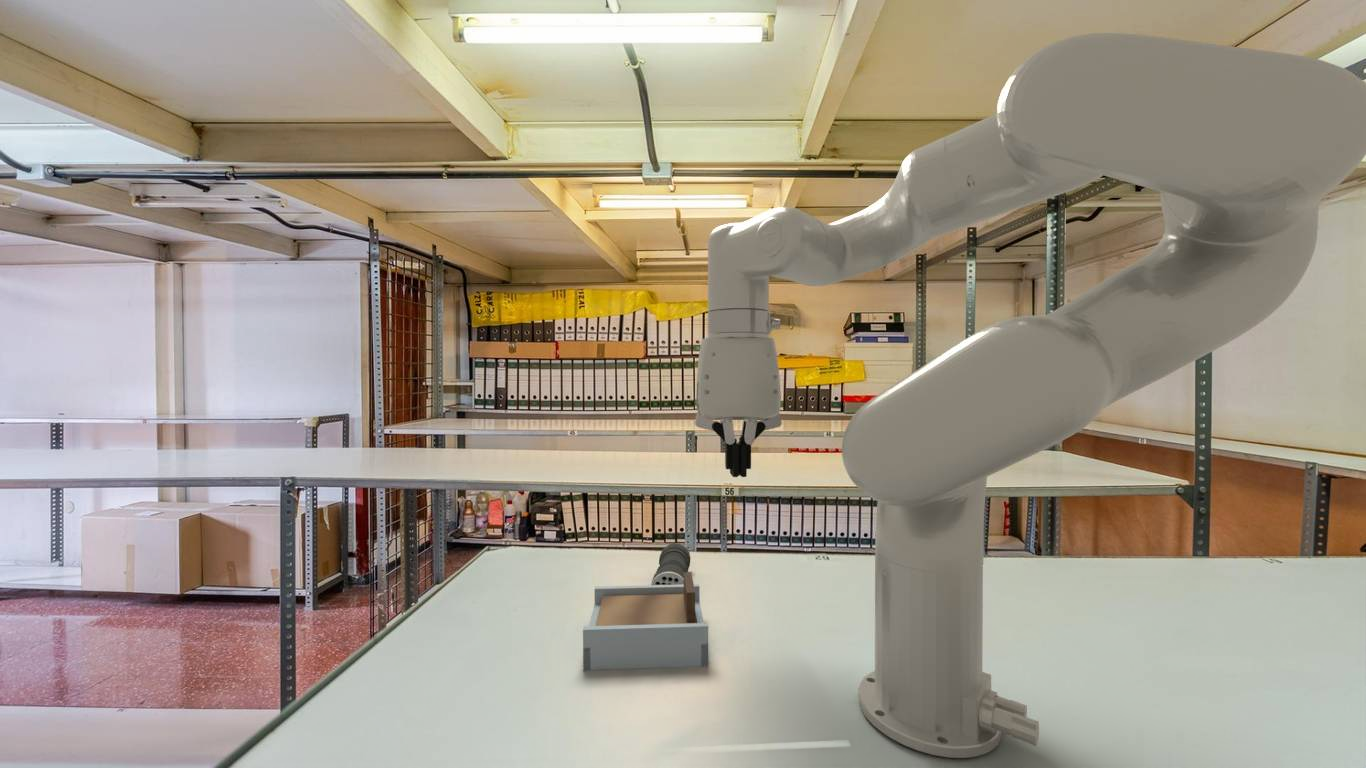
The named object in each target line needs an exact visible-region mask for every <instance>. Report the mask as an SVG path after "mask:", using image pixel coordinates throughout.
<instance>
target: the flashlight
mask: <svg viewBox="0 0 1366 768" xmlns="http://www.w3.org/2000/svg"><path fill="white" fill-rule="evenodd" d="M690 554H691V553H690V552H689V550H688V548H686V547H685V546H684V545H683V544H680V543H676V542H675V543H669V544H668V545H666V546H664V547H663V548H662V550H661V553H660V555H659V559H658V565H659V566H658V567H657V569H656V572H655V573H654V575H653V577H652V579H651V584H650V585H669V584H670V585H678V584H684V572H689V569H690V565H691V555H690ZM670 578H671V579H670ZM676 579H677V580H676Z"/></svg>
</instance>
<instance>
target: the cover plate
mask: <svg viewBox="0 0 1366 768" xmlns="http://www.w3.org/2000/svg"><path fill="white" fill-rule="evenodd" d="M694 584H695V583H694V580H693V574H692V572H691V571H687V572H684V594H661V595H623V596H602V601H601V605H600V609H599V613H598V618H597V622H596V626H617V625H652V624H686V623H697V622H696V617H695V589H694Z"/></svg>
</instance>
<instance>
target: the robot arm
mask: <svg viewBox="0 0 1366 768" xmlns="http://www.w3.org/2000/svg"><path fill="white" fill-rule="evenodd" d="M1365 157H1366V82H1365V81H1364V80H1362V79H1361V78H1360V77H1358V76H1357V75H1356V74H1354V73H1353V72H1352V71H1350V69H1349V70H1348V69H1346V68H1344V67H1341V66H1340V65H1337V64H1333V63H1330V62H1327V61H1325V60H1323V59H1322V60H1321V59H1319V58H1313V57H1309V56H1304V55H1297V54H1292V53H1284V52H1276V51H1269V50H1263V49H1253V48H1247V47H1239V46H1231V45H1223V44H1217V43H1216V44H1215V43H1214V44H1213V43H1208V42H1199V41H1193V40H1186V39H1179V38H1178V39H1177V38H1173V37H1171V38H1170V37H1164V36H1157V35H1156V36H1155V35H1145V34H1137V33H1125V32H1093V33H1085V34H1079V35H1078V34H1077V35H1074V36H1073V35H1072V36H1069V37H1066V38H1063V39H1059V40H1057V41H1055V42H1053V43H1052V42H1051V43H1050V44H1047V45H1046V46H1044V47H1042V48H1040V49H1038V51H1036V52H1034V53H1032V54H1031V55H1030V56H1028V57H1027V58H1026V59H1025V60H1024V61H1023V62H1022V63H1021V64H1019V65H1018V66H1017V67H1016V68H1015V70H1014V71H1013V72H1012V74H1011V75H1010V76H1009V77H1008V79H1007V81H1006V82H1005V84H1004V86H1003V88H1002V90H1001V92H1000V94H999V98H998V100H997V105H996V113H994V114H993V115H990V116H988V117H986V118H983V119H981V120H979V121H977V122H975V123H972V124H970V125H968V126H965V127H964V128H961V129H959V130H957V131H954V132H952V133H950V134H948V135H945V136H944V137H941V138H939V139H937V140H934V141H933V142H932V141H931V142H930V143H927V144H926V145H923V146H921V147H918V148H916V149H914V150H913V151H912V152H910V153H908V155H907V156H906V157H904V159H903V161H902V163H901V164H900V168H899V170H898V172H897V175H896V177H895V179H894V182H893V183H892V185H891V187H889V190H888V191H887V192H886V193H885V194H884V196H882V197H881V198H880V199H878V200H877V201H876V202H874V203H873V204H871V205H869V206H868V207H865V208H864V209H862V210H860V211H858V212H856V213H853V214H851V215H849V216H845V217H843V218H841V219H838V220H836V221H833V222H830V223H826V222H824V221H822V220H820V219H819V218H816V217H815V216H813V215H810V214H808V213H807V212H806V211H805V212H804V211H802V210H801V209H798V208H795V207H792V206H780V207H775V208H772V209H770V210H767V211H764V212H762V213H760V214H758V215H756V216H754V217H752V218H750V219H748V220H746V221H743V222H732V223H727V224H723V225H719V226H717V227H715V228H714V229H713V230H712V231H711V232H710V234H709V237H708V241H707V337H703V338H702V339H701V342H700V346H699V351H698V352H699V354H698V360H697V361H698V362H697V372H696V374H697V375H696V397H695V399H696V400H695V401H696V411H697V412H696V416H695V420H694V424H695V426H696V428H699V429H704V430H707V431H713V432H715V433H716V434H717V436H718V437H719V438H720V439H722V441H723V442H724V444H725V445H724V446H725V447H724V451H725V452H724V457H725V459H724V461H725V462H724V463H725V470H729V474H730V475H731V476H732V477H733V478H738V477H741V478H747V472H748V471H747V470H751V468H752V445H753V444H754V442H755V440H756V439H757V438H758V437H759V436H760V435H761V434H763V432H764V431H768V430H769V431H770V430H773V429H776V428H780V427H781V426H782V425H783V424H782V419H781V413H780V412H781V407H782V406H781V405H782V400H781V399H782V397H781V393H782V391H781V380H780V378H781V377H780V369H779V360H778V359H779V358H778V353H777V348H776V342H775V338H773V337H770V335H769V334H771V332H772V331H774V330H781V324H782V323H781V319H780V318H775V317H772V315H771V312H770V277H772V278H776V279H782V280H786V281H791V282H795V283H798V284H799V285H804V286H808V287H824V286H825V287H826V286H830V285H834V284H838V283H841V282H843V281H847V280H850V279H853V278H855V277H856V278H857V277H860V276H862V275H865V274H869V273H871V272H874V271H877V270H879V269H881V268H884V267H887V266H888V265H891V264H892V263H894V262H896V261H898V260H900V259H902V258H903V257H905V256H907V255H909V254H911V253H912V252H915V251H916V250H918V249H920V248H921V247H923V246H924V245H925V244H927V243H929V242H931V241H932V240H934V239H935V238H938V237H940V236H943V235H945V234H949V233H953V232H954V231H957V230H960V229H963V228H966V227H969V226H972V225H975V224H977V223H980V222H984V221H986V220H989V219H992V218H996V217H998V216H1001V215H1004V214H1006V213H1009V212H1012V211H1015V210H1018V209H1021V208H1025V207H1027V206H1030V205H1034V204H1036V203H1039V202H1040V203H1041V202H1042V201H1046V200H1048V199H1051V198H1054V197H1057V196H1060V195H1062V194H1063V195H1064V194H1066V193H1068V192H1071V191H1074V190H1076V189H1079V188H1081V187H1084V186H1086V185H1089V184H1091V183H1092V182H1095V181H1096V180H1099V179H1100V178H1102V177H1103V176H1105V177H1107V178H1111V179H1115V180H1118V181H1121V182H1125V183H1128V184H1133V185H1136V186H1139V187H1142V188H1147V189H1150V190H1153V191H1158V192H1160V207H1161V212H1162V216H1163V219H1164V224H1165V225H1164V226H1165V227H1164V228H1165V229H1164V232H1163V235H1162V238H1161V239H1160V241H1158V244H1157V245H1156V246H1155V247H1154V248H1153V249H1152V251H1150V252H1148V253H1147V254H1145V255H1144V256H1143V257H1141V258H1139V259H1138V260H1137V261H1135V262H1133V263H1131V264H1129V265H1127V266H1125V267H1124V268H1122V269H1120V270H1119V271H1117V272H1115V273H1113V274H1111V275H1110V276H1108V277H1107V278H1105V279H1104V280H1102V281H1101V282H1099V283H1098V284H1096V285H1095V286H1094V287H1092V288H1090V289H1089V290H1087V291H1086V292H1084V293H1082V294H1080V295H1078V296H1077V297H1075V298H1074V299H1072V300H1070V301H1068V302H1067V303H1065V304H1064V305H1062V306H1060V307H1058V308H1056V309H1055V310H1053V311H1051V312H1049V313H1047V314H1045V315H1022V316H1021V315H1020V316H1015V317H1011V318H1008V319H1004V320H1001V321H998V322H996V323H993V324H992V325H989V326H987V327H985V328H983V329H981V330H978V332H977V331H976V332H975V333H973V334H971V335H970V336H968V337H967V338H965V339H964V340H962V341H960V342H959V343H956V345H954V346H953V347H951V348H949V349H948V350H946V351H944V352H943V353H942V354H940V355H938V356H937V357H936V358H934V359H932V360H930V361H928V363H925V365H923V366H921V367H920V368H918V369H917V370H915V371H913V372H911V373H910V374H908V375H907V376H905V377H903V378H902V379H900V380H899V381H898V382H896V383H894V384H893V385H891V386H889V387H888V388H886V389H885V390H883V391H881V392H880V393H878V394H877V395H876V396H874V397H873V398H871V399H870V400H868V401H867V402H865V404H863V405H862V406H861V407H860V408H859V409H858V410H857V411H856V412H855V413H854V414H853V415H852V417H851V418H850V420H849V422H848V423H847V425H846V428H845V429H844V430H845V431H844V433H843V435H842V436H843V437H842V443H841V457H842V462H843V465H844V468H845V471H846V473H847V475H848V477H849V479H850V480H851V481H852V483H853V484H854V485H855V486H856V488H857V489H859V491H861V492H862V493H863V494H864V495H866V496H867V497H869V498H870V499H873V500H875V501H876V502H877V506H876V513H875V515H876V516H875V539H874V540H875V541H874V543H875V544H874V545H875V548H874V549H875V551H874V671H870V673H869V674H867V675H865V676H864V677H863V679H861V681H860V684H859V685H858V703H859V707H860V710H861V711H862V713H863V715H864V716H865V717H866V719H867V720H868V721H869V722H870V723H871V724H872V725H873V726H874V727H875V728H876V729H877V730H879V732H881V733H882V734H884V735H885V736H887V737H888V738H890V739H891V740H894V741H895V742H897V743H899V744H901V745H903V746H905V747H907V748H910V749H913V750H915V751H917V752H921V753H925V754H928V755H933V756H936V757H937V756H938V757H943V758H950V759H951V758H952V759H954V758H955V759H966V758H968V759H969V758H975V757H979V756H982V755H983V756H984V755H985V754H988V753H989V752H991V751H993V750H995V748H997V746H998V745H999V744H1000V741H1001V738H1002V733H1003V734H1006V735H1010V736H1011V738H1014V739H1016V740H1019V741H1022V742H1024V743H1026V744H1028V745H1031V746H1034V747H1037V746H1038V743H1039V735H1040V723H1039V721H1038V720H1036V719H1033V718H1030V717H1028V706H1027V704H1025V703H1024V704H1023V703H1021V702H1019V701H1016V700H1013V699H1007V698H1005V697H1002V696H1000V695H998V692H997V691H994V690H992V674H990V673H987V672H984V671H983V647H984V646H983V637H984V635H983V631H984V629H983V627H984V626H983V624H984V623H983V622H984V621H983V619H984V618H983V617H984V616H983V615H984V613H983V612H984V611H983V609H984V608H983V607H984V601H983V598H984V597H983V595H984V594H983V593H984V588H983V587H984V586H983V585H984V538H985V537H984V535H985V534H984V530H985V529H984V528H985V524H984V523H985V507H986V504H985V503H986V491H987V481H988V477H989V476H991V475H994V474H996V473H998V472H1000V471H1002V470H1004V469H1006V468H1008V467H1010V466H1013V465H1015V464H1017V463H1019V462H1021V461H1024V460H1025V459H1027V458H1030V457H1032V456H1035V455H1036V454H1038V453H1040V452H1042V451H1045V450H1046V449H1049V448H1051V447H1053V446H1055V445H1057V444H1060V443H1061V442H1062V441H1065V440H1066V439H1068V438H1070V437H1072V436H1073V435H1075V434H1078V433H1079V432H1080V431H1082V430H1083V429H1084V428H1086V427H1087V426H1088V425H1090V424H1091V423H1092V422H1093V421H1094V420H1095V419H1096V418H1097V417H1098V416H1099V414H1100V413H1101V412H1102V410H1103V409H1105V408H1106V407H1108V406H1110V405H1113V404H1114V403H1116V402H1118V401H1119V400H1121V399H1123V398H1125V397H1127V396H1129V395H1130V394H1133V393H1135V392H1137V391H1139V390H1140V389H1144V388H1145V387H1147V386H1149V385H1151V384H1153V383H1155V382H1157V381H1159V380H1162V379H1163V378H1165V377H1168V375H1171V374H1172V373H1174V372H1176V371H1178V370H1180V369H1181V368H1184V367H1185V366H1187V365H1189V364H1192V363H1193V362H1195V361H1197V360H1199V359H1200V358H1202V357H1204V356H1206V355H1208V354H1210V353H1212V352H1214V351H1216V350H1218V349H1219V348H1221V347H1223V346H1225V345H1226V344H1227V345H1228V343H1230V342H1232V341H1234V340H1236V339H1238V338H1239V337H1241V336H1242V335H1244V334H1245V333H1247V332H1248V331H1251V330H1252V329H1253V328H1255V327H1256V326H1258V325H1259V324H1260V323H1262V322H1263V321H1264V320H1266V319H1267V318H1269V316H1271V315H1272V314H1273V313H1274V312H1276V311H1277V310H1278V309H1279V307H1281V306H1282V305H1283V304H1284V303H1285V302H1286V300H1288V298H1289V297H1290V296H1291V294H1293V292H1294V291H1295V289H1297V287H1298V285H1299V283H1300V282H1301V281H1302V280H1303V278H1304V275H1305V274H1306V272H1307V270H1308V268H1309V265H1310V263H1311V261H1312V258H1313V255H1314V253H1315V249H1316V246H1317V241H1318V230H1319V229H1318V228H1319V227H1318V226H1319V210H1320V209H1319V208H1320V202H1321V201H1322V200H1323V198H1325V197H1326V196H1327V195H1328V194H1330V193H1331V192H1332V191H1333V190H1335V189H1336V188H1337V187H1338V186H1339V185H1341V183H1343V181H1345V180H1346V179H1347V178H1348V177H1349V175H1351V174H1352V173H1353V171H1355V170H1356V169H1357V168H1358V167H1359V165H1360V164H1361V162H1362V161H1363V159H1364V158H1365ZM717 420H719V421H717ZM733 420H743V421H742V427H741V435H740V437H738V439H737V438H736V436H735V430H734V424H733Z"/></svg>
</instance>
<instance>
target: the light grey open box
mask: <svg viewBox="0 0 1366 768" xmlns="http://www.w3.org/2000/svg"><path fill="white" fill-rule="evenodd" d="M693 584H694V589H695V617H696V622H697V623H686V624H652V625H617V626H596V622H597V618H598V613H599V609H600V605H601V601H602V596H623V595H661V594H684V584H678V585H677V584H674V585H672V584H668V585H651V584H650V585H649V584H648V585H646V584H645V585H640V584H639V585H605V586H604V585H603V586H602V585H601V586H595V587H594V605H593V609H592V611H591V616H590V619H589V623H588V626H587V625H586V626H583V629H582V648H583V649H582V662H583V663H582V667H583V668H582V669H583V670H582V671H612V670H613V671H614V670H617V671H618V670H640V669H641V670H642V669H643V670H645V669H647V670H648V669H674V668H675V669H676V668H698V667H699V668H700V667H701V668H704V667H705V668H706V667H709V625H708V622H705V621H704V616H703V612H702V606H701V602H700V584H699V583H693Z"/></svg>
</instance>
